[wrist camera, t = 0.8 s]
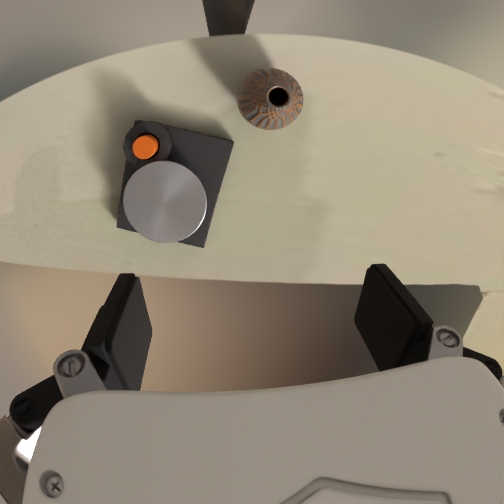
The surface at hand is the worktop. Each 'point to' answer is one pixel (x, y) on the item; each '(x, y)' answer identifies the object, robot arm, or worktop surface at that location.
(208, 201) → the scale
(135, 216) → the pan
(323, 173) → the worktop surface
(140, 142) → the tare button
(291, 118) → the vase
